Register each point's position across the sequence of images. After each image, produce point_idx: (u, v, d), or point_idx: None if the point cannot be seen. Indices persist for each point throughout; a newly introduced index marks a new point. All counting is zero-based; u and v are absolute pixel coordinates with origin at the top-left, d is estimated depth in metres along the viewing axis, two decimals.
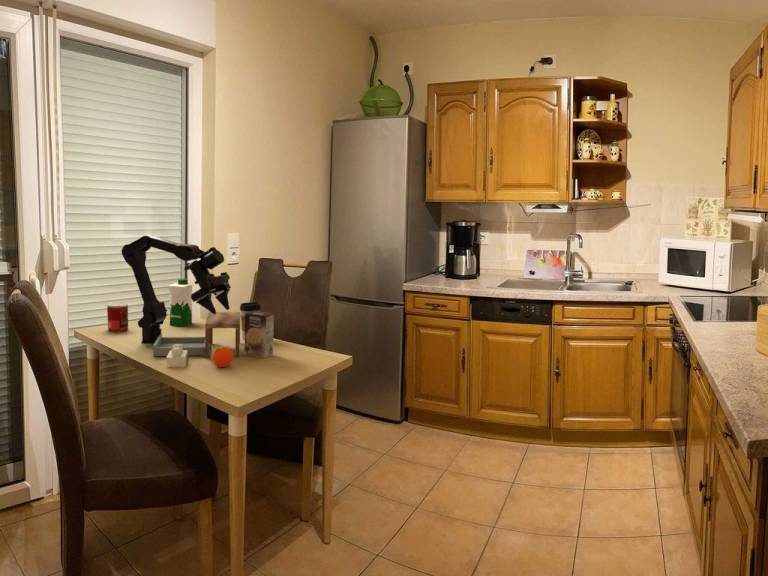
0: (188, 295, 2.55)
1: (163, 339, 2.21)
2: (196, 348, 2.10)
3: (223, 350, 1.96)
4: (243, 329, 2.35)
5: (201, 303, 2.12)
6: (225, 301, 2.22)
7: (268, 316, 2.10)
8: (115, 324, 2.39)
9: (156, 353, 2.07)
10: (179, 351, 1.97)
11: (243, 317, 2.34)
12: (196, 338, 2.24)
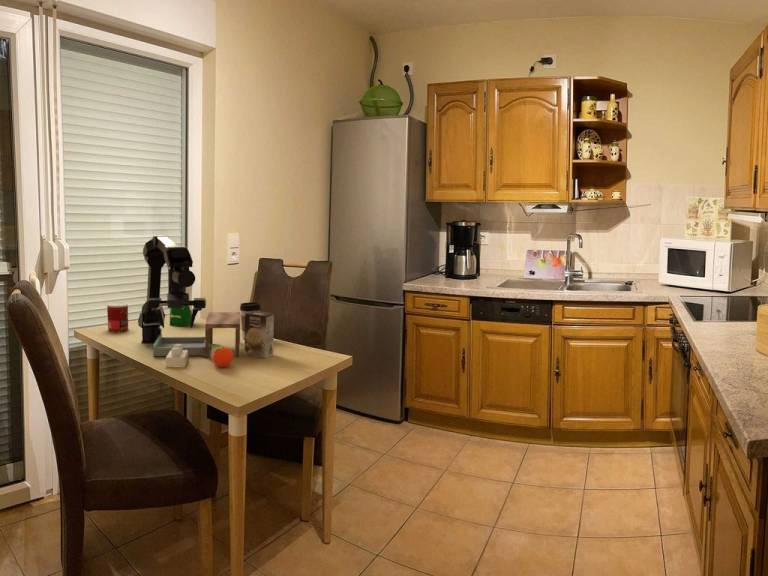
0: None
1: (163, 339, 2.21)
2: (196, 348, 2.10)
3: (223, 350, 1.96)
4: (243, 329, 2.35)
5: None
6: None
7: (268, 316, 2.10)
8: (115, 324, 2.39)
9: (156, 353, 2.07)
10: (178, 351, 1.97)
11: (243, 317, 2.34)
12: (196, 338, 2.24)
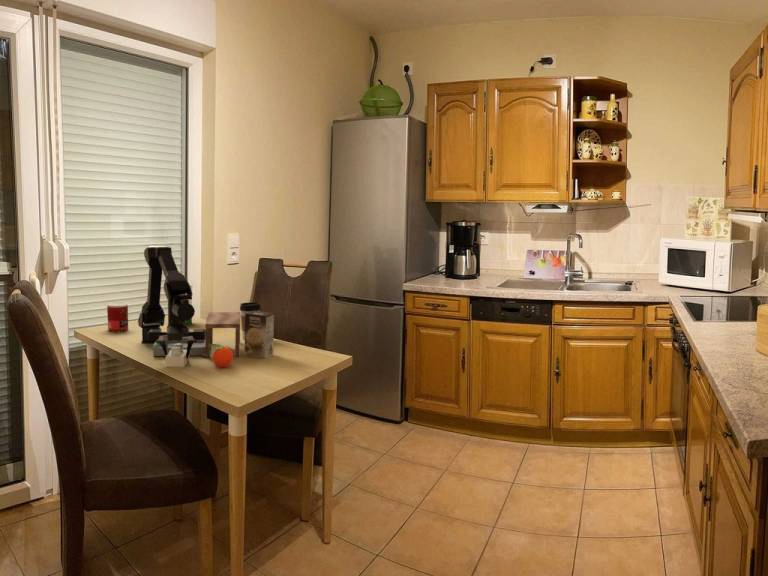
0: None
1: None
2: (196, 348, 2.10)
3: (223, 350, 1.96)
4: (243, 329, 2.35)
5: None
6: (187, 349, 2.01)
7: (268, 316, 2.10)
8: (115, 324, 2.39)
9: (156, 353, 2.07)
10: (178, 350, 1.97)
11: (243, 317, 2.34)
12: None
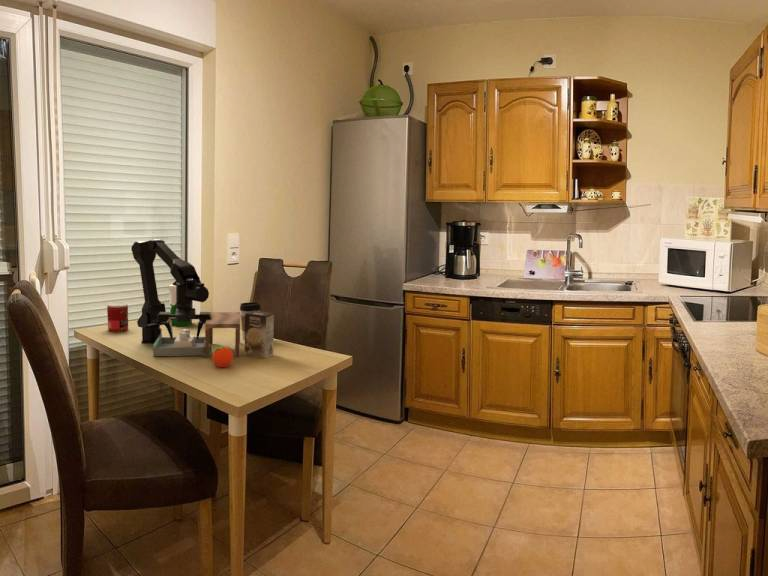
0: None
1: (163, 339, 2.21)
2: (196, 348, 2.10)
3: (223, 350, 1.96)
4: (243, 329, 2.35)
5: None
6: (197, 331, 2.16)
7: (268, 316, 2.10)
8: (115, 324, 2.39)
9: (156, 353, 2.07)
10: (186, 335, 2.12)
11: (243, 317, 2.34)
12: (196, 338, 2.24)
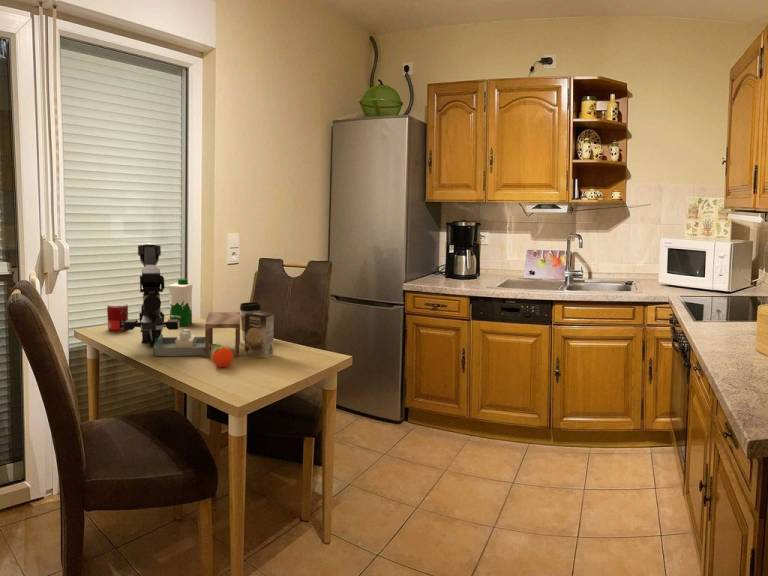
0: (188, 295, 2.55)
1: (164, 339, 2.21)
2: (197, 348, 2.10)
3: (223, 350, 1.96)
4: (243, 329, 2.35)
5: None
6: None
7: (268, 316, 2.10)
8: (115, 324, 2.39)
9: (157, 353, 2.07)
10: (187, 335, 2.12)
11: (243, 317, 2.34)
12: (196, 338, 2.24)
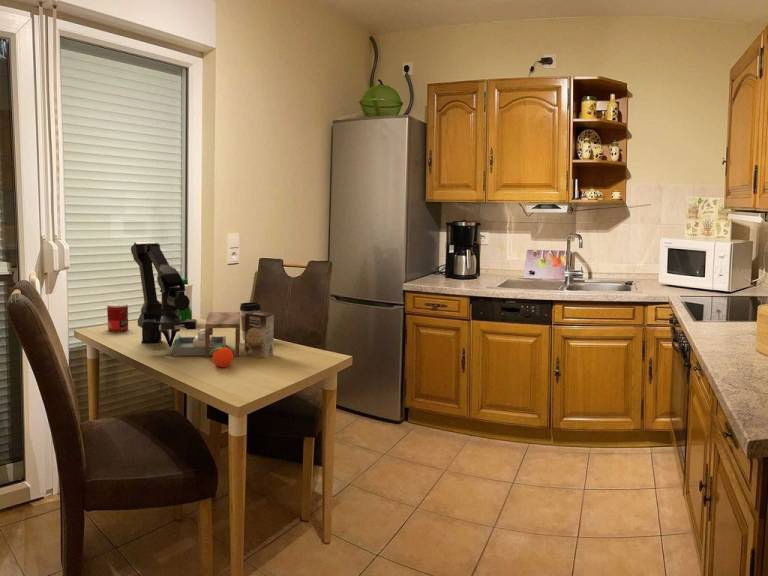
0: (188, 295, 2.55)
1: (181, 339, 2.22)
2: None
3: (223, 350, 1.96)
4: (243, 329, 2.35)
5: None
6: None
7: (268, 316, 2.10)
8: (115, 324, 2.39)
9: (175, 353, 2.08)
10: (204, 335, 2.14)
11: (243, 317, 2.34)
12: (213, 338, 2.25)
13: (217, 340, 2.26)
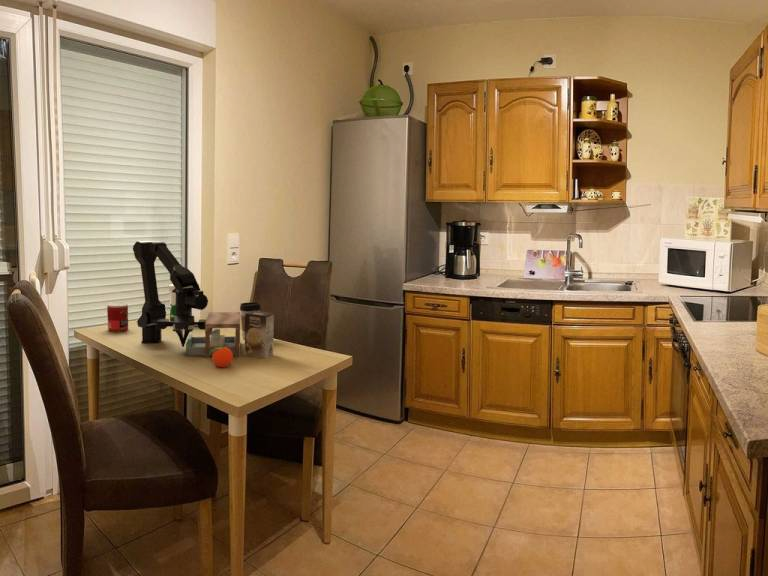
0: None
1: (193, 339, 2.23)
2: (227, 347, 2.12)
3: (223, 350, 1.96)
4: (243, 329, 2.35)
5: None
6: None
7: (268, 316, 2.10)
8: (115, 324, 2.39)
9: (188, 352, 2.09)
10: (217, 335, 2.15)
11: (243, 317, 2.34)
12: (225, 338, 2.26)
13: (229, 340, 2.27)
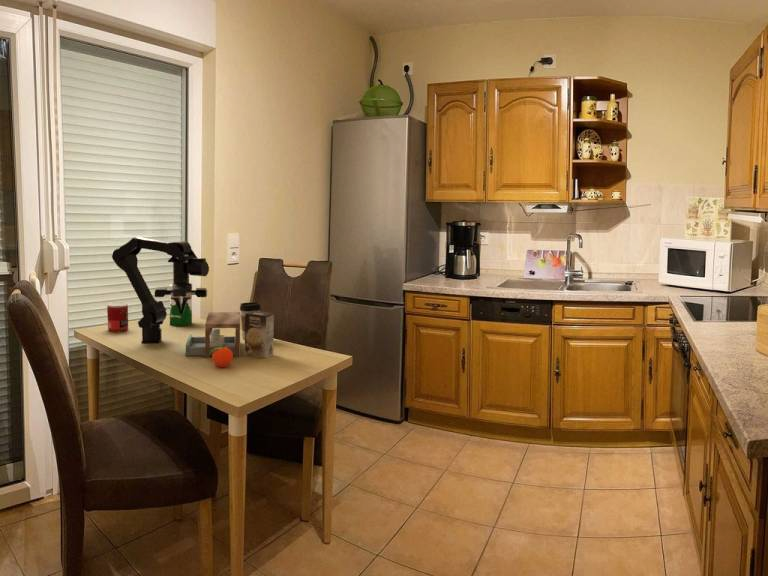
0: None
1: (193, 339, 2.23)
2: (227, 347, 2.12)
3: (223, 350, 1.96)
4: (243, 329, 2.35)
5: None
6: (182, 306, 2.22)
7: (268, 316, 2.10)
8: (115, 324, 2.39)
9: (188, 352, 2.09)
10: (217, 335, 2.15)
11: (243, 317, 2.34)
12: (225, 338, 2.26)
13: (229, 340, 2.27)
